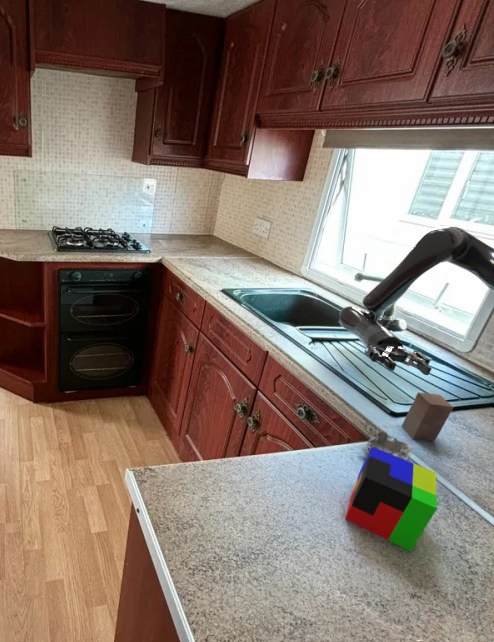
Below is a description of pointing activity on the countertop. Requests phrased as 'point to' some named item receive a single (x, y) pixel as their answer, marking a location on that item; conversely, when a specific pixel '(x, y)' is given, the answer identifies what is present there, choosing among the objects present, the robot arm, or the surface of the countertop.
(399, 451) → the egg carton
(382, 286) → the robot arm
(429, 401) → the walnut block
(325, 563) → the countertop surface
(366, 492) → the puzzle toy
